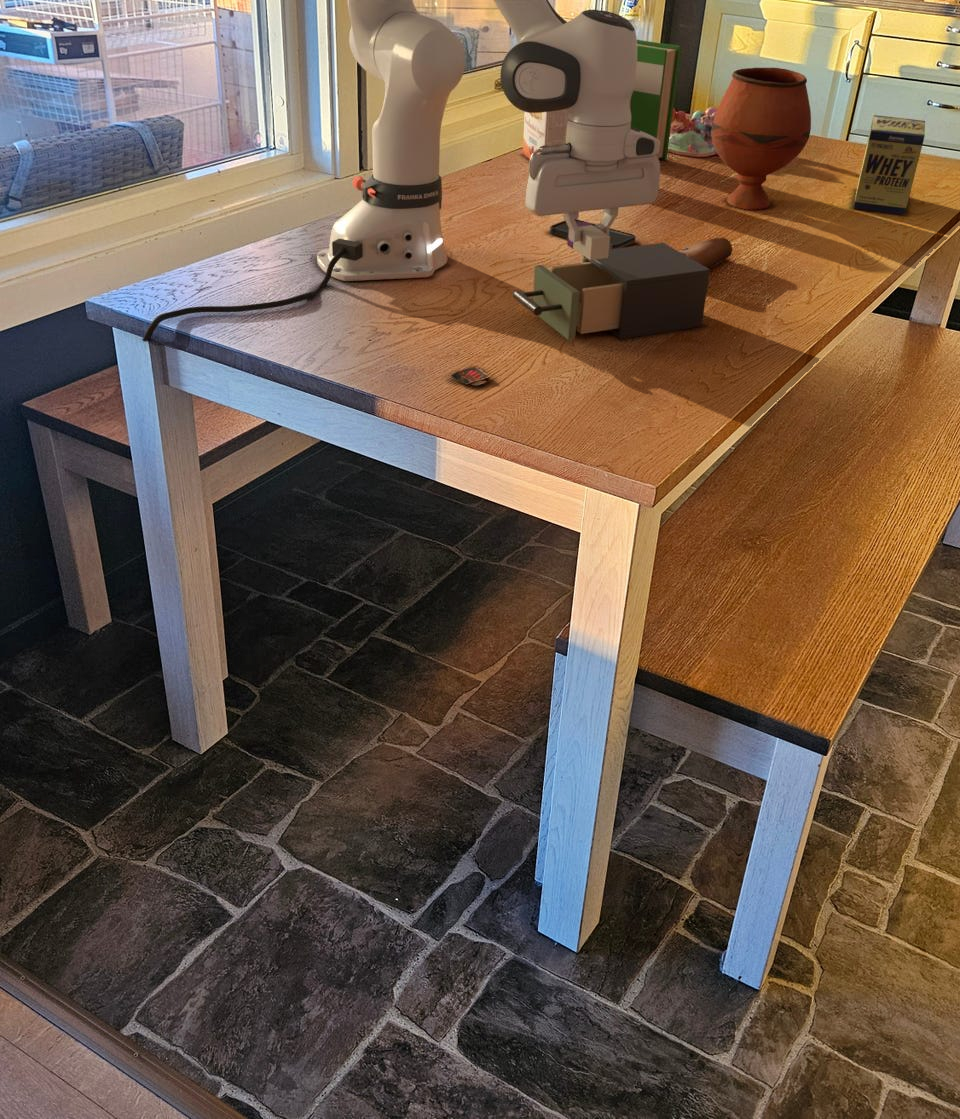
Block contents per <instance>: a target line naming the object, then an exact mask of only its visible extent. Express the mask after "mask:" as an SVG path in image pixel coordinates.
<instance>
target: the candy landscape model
mask: <svg viewBox="0 0 960 1119" xmlns="http://www.w3.org/2000/svg"><path fill="white" fill-rule="evenodd" d="M716 111H717V108H716V106H710V107H708V108H707V109H706V110H705V111H702V110H696V111H695V112H694V113H693V114H692V116H691V118H690V119H688V118H687V113H686V111H684V110H679V111H677V110H676V109H675V107H673V114H672V121H671V124H672V123H674V122H675V121H676V122H677V123H678V124H679V125H678V124H677V125H674V126H671V129H670V137H669V145H668V152H667V153H671V154H675V155H678V156H679V155H680V156H685V157H686V156H687V157H693V158H703V157H710V156H715V155H718V153H717V151H716V149H715V147H714V144H713V141H712V136H711V131H712V124H713V120H714V116H715V113H716Z"/></svg>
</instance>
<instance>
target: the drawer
mask: <svg viewBox="0 0 960 1119" xmlns="http://www.w3.org/2000/svg"><path fill="white" fill-rule="evenodd" d="M533 276H534V279H533V291H525V292H524V291H523V292H522V291H521V290H519V289H517V290H515V291H514V292H513V294H512V297H513V298H514V300H516V301H517V302H518V303H519V304H521V305H522V306H523V307H524V308H526V309H527V310H528V311H530V312H531V313H532V314H533V315H534V316H537V317H539V318H540V319H541V320H543V321H544V322H545V323H546V324H547V325H549V326H550V327H551V328H553V329H554V330H555V331H556V332H558V333H559V334H560V335H561V336H562V337H564V338H565V339H566V340H568V341H570V340H575V339H576V332H578V333H579V334H580V335H584V334H589V333H596V332H602V331H609V330H610V329H616V328H619V323H620V314H621V305H622V296H623V287H624V284H623V283H621V282H620V281H618V280H617V279H615V278H614V277H612V276H611V275H609V274H608V273H606V272H605V271H603V270H602V269H600V268H599V267H597V266H596V265H594V264H593V263H591V262H584V263H583V262H577V263H570V264H562V265H561V264H560V265H553V266H551V269H549V268H547V267H546V266H544V265H543V264H537V265H534V275H533ZM530 297H532V298H530Z"/></svg>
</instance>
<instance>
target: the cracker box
mask: <svg viewBox="0 0 960 1119" xmlns="http://www.w3.org/2000/svg"><path fill="white" fill-rule="evenodd" d="M523 117H524V118H523V119H524V120H523V138H522V155H524V156H525V157H526V158H528V159H529V160H530V157H531V155H532V154H533V153H534V152H535V151H536V150H538V149H539V148H540V147H541V146H544V145H549V146H552V145H557V144H566V131H567V117H568V112H567V111H566V110H559V111H551V112H542V113H529V112H525V111H524V116H523ZM537 154H540V152H539V153H537Z"/></svg>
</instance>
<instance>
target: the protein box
mask: <svg viewBox="0 0 960 1119" xmlns="http://www.w3.org/2000/svg"><path fill="white" fill-rule="evenodd" d="M925 131H926V121H925V120H921V119H914V118H913V119H912V118H906V117H905V118H904V117H895V116H885V115H876V114H874V115H873V118H872V122H871V125H870V129H869V133H868V138H867V142H866V147H865V152H864V154H863V159H862V165H861V169H860V173H859V177H858V182H857V187H856V191H855V196H854V202H853V206H852V208H853V210H854V209H856V210H862V211H872V212H877V213H885V214H891V215H892V214H893V215H900V216H905V215H906V210H907V207H908V204H909V200H910V196H911V192H912V188H913V184H914V180H915V177H916V176H915V175H916V172H917V168H918V164H919V160H920V156H921V152H922V149H923V145H924V140H925V137H926V136H925V135H926V132H925Z"/></svg>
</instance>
